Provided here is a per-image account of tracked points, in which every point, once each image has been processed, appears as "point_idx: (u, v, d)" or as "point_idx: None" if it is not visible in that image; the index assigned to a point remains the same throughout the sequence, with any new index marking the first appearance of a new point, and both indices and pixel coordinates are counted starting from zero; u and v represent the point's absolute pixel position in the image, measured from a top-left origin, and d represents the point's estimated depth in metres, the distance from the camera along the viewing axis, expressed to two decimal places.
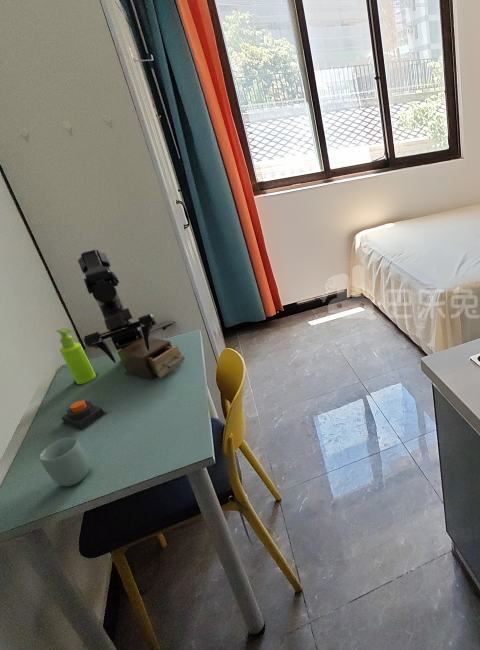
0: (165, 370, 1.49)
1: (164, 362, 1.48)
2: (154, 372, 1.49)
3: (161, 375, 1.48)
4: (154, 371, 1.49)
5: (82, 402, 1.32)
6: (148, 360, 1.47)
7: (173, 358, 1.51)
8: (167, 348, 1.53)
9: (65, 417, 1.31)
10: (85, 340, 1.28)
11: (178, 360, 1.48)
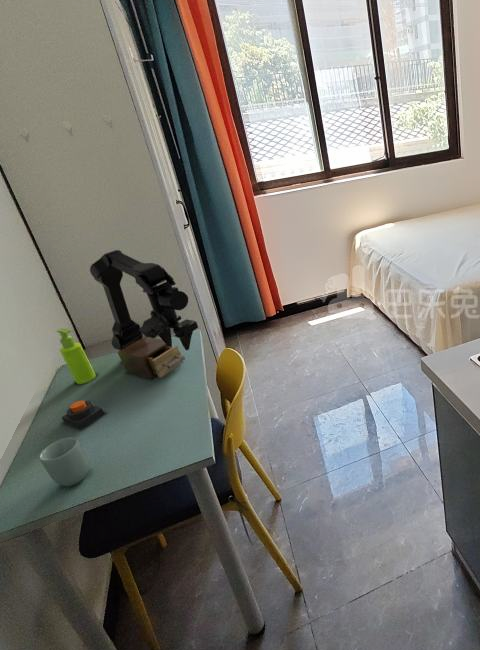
0: (165, 370, 1.49)
1: (164, 362, 1.48)
2: (154, 372, 1.49)
3: (161, 375, 1.48)
4: (154, 371, 1.49)
5: (82, 402, 1.32)
6: (148, 360, 1.47)
7: (173, 358, 1.51)
8: (167, 348, 1.53)
9: (65, 417, 1.31)
10: None
11: (178, 360, 1.48)
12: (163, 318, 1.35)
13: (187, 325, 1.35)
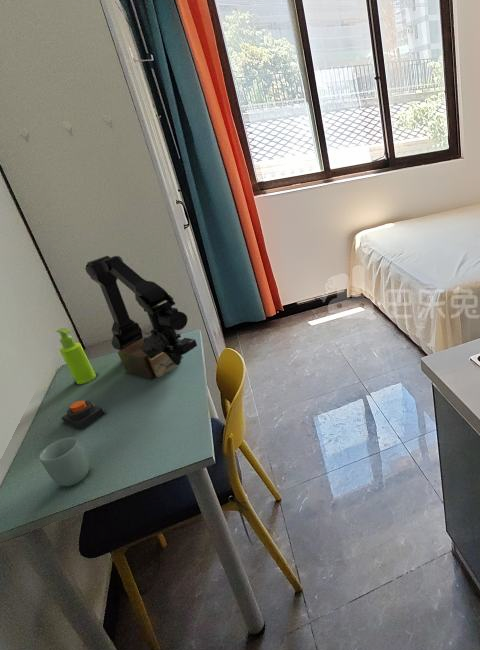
0: (163, 370, 1.49)
1: (162, 362, 1.49)
2: (152, 372, 1.50)
3: (159, 375, 1.48)
4: (152, 371, 1.49)
5: (82, 402, 1.32)
6: None
7: None
8: None
9: (65, 417, 1.31)
10: None
11: None
12: (163, 337, 1.40)
13: (186, 344, 1.40)
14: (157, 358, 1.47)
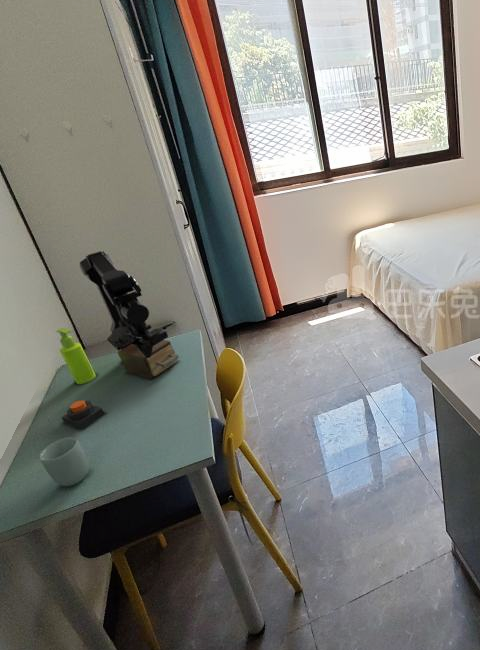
0: (159, 369, 1.50)
1: (158, 361, 1.49)
2: None
3: (155, 374, 1.49)
4: None
5: (82, 402, 1.32)
6: None
7: (167, 357, 1.52)
8: None
9: (65, 417, 1.31)
10: None
11: (172, 359, 1.50)
12: (132, 327, 1.33)
13: (156, 334, 1.33)
14: (153, 357, 1.48)
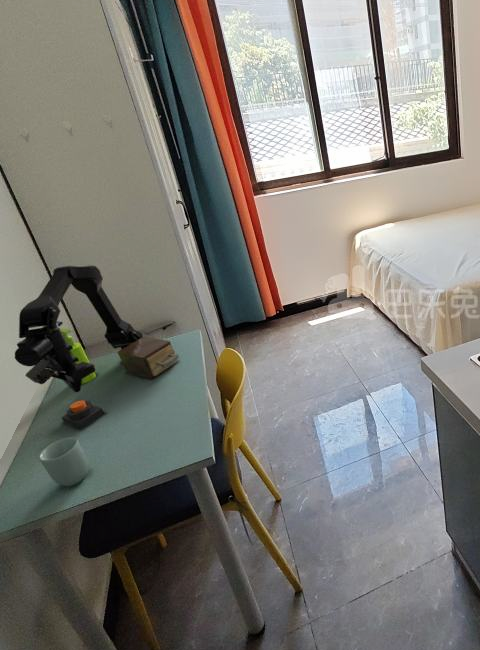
0: (159, 369, 1.50)
1: (158, 361, 1.49)
2: None
3: (155, 374, 1.49)
4: None
5: (82, 402, 1.32)
6: None
7: (167, 357, 1.52)
8: None
9: (65, 417, 1.31)
10: None
11: (172, 359, 1.50)
12: (54, 361, 1.22)
13: (81, 369, 1.22)
14: (153, 357, 1.48)
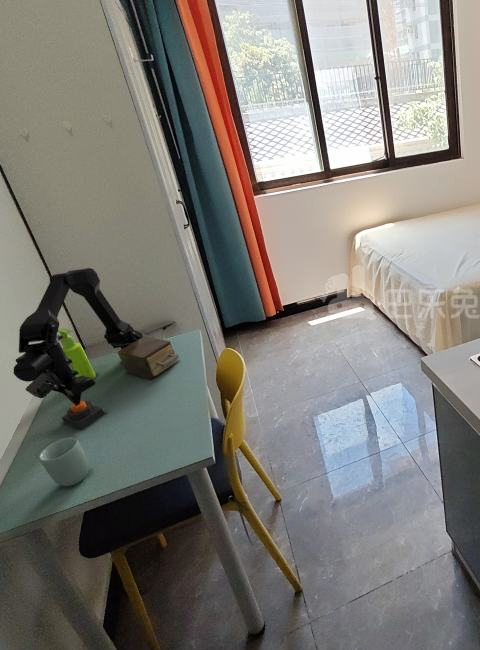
0: (159, 369, 1.50)
1: (158, 361, 1.49)
2: None
3: (155, 374, 1.49)
4: None
5: (82, 402, 1.32)
6: None
7: (167, 357, 1.52)
8: None
9: (65, 417, 1.31)
10: None
11: (172, 359, 1.50)
12: (53, 376, 1.23)
13: (80, 383, 1.23)
14: (153, 357, 1.48)
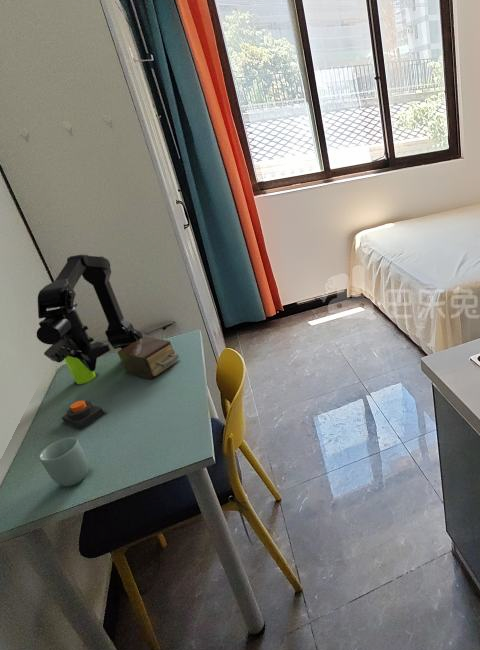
0: (159, 369, 1.50)
1: (158, 361, 1.49)
2: None
3: (155, 374, 1.49)
4: None
5: (82, 402, 1.32)
6: None
7: (167, 357, 1.52)
8: None
9: (65, 417, 1.31)
10: None
11: (172, 359, 1.50)
12: (70, 341, 1.28)
13: (96, 348, 1.28)
14: (153, 357, 1.48)
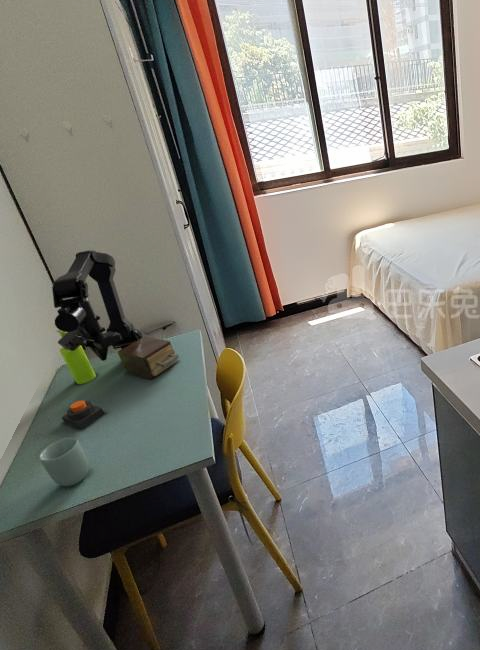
0: (159, 369, 1.50)
1: (158, 361, 1.49)
2: None
3: (155, 374, 1.49)
4: None
5: (82, 402, 1.32)
6: None
7: (167, 357, 1.52)
8: None
9: (65, 417, 1.31)
10: None
11: (172, 359, 1.50)
12: (83, 330, 1.31)
13: (108, 337, 1.32)
14: (153, 357, 1.48)
